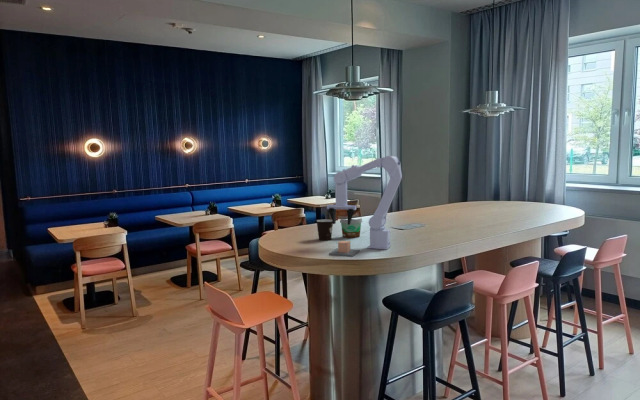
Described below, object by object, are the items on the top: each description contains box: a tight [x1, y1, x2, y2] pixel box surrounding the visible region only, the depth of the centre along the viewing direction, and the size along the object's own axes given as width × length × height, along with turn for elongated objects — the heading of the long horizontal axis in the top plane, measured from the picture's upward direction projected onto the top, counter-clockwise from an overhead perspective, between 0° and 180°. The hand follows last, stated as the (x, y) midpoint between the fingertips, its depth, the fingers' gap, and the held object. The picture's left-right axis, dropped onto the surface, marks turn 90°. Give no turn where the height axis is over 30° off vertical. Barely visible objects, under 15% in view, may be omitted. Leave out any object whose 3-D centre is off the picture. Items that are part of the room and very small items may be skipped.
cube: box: [337, 240, 351, 253], centre depth 212 cm, size 4×4×4 cm
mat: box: [328, 247, 361, 257], centre depth 212 cm, size 11×11×1 cm
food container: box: [339, 218, 363, 239], centre depth 250 cm, size 12×6×10 cm, turn 101°
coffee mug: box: [316, 219, 334, 242], centre depth 245 cm, size 12×9×10 cm
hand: (341, 224), depth 229 cm, fingers open, 7 cm apart
